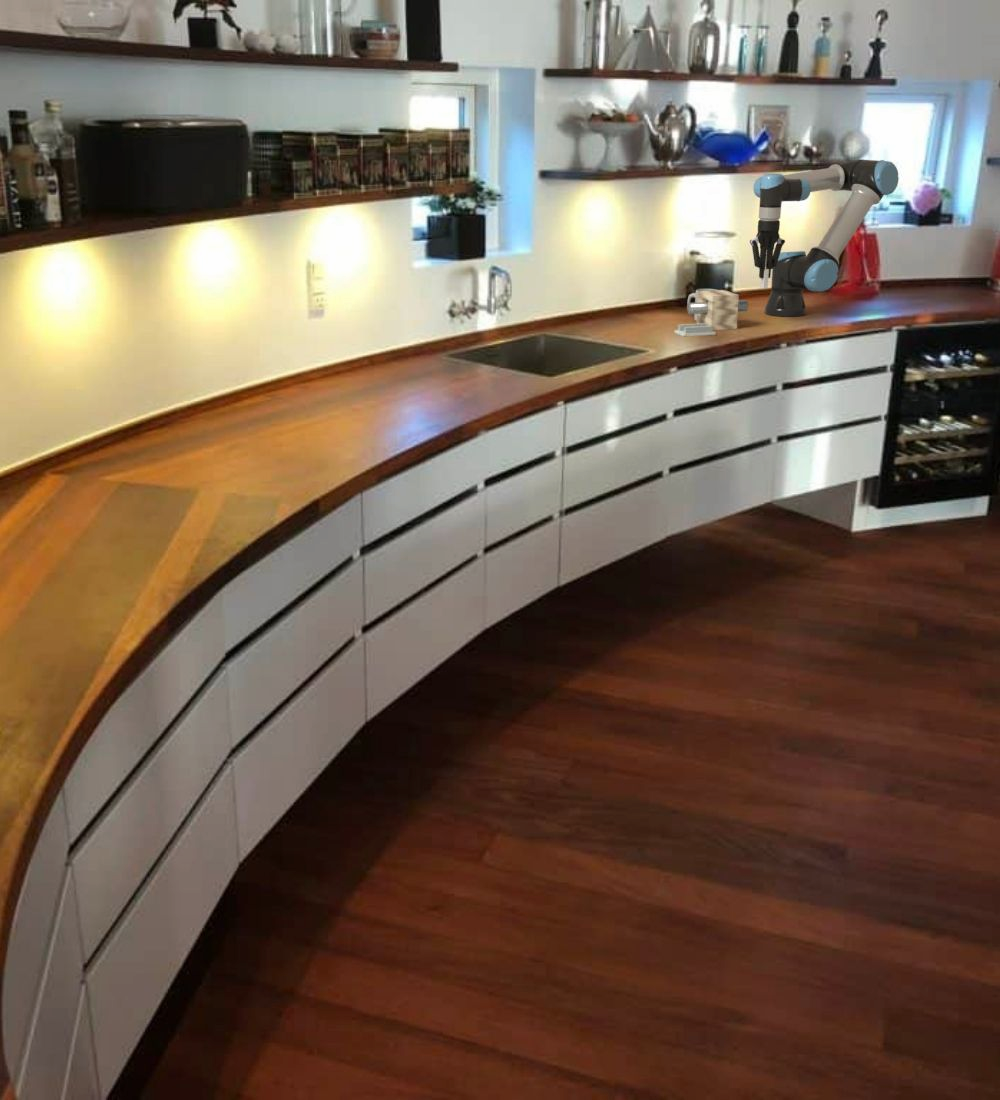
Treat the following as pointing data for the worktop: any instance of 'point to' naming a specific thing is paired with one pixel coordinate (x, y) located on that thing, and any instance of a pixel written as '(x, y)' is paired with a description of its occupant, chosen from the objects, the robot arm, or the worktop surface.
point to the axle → (703, 307)
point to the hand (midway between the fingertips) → (763, 287)
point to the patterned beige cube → (719, 309)
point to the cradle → (694, 329)
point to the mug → (697, 298)
